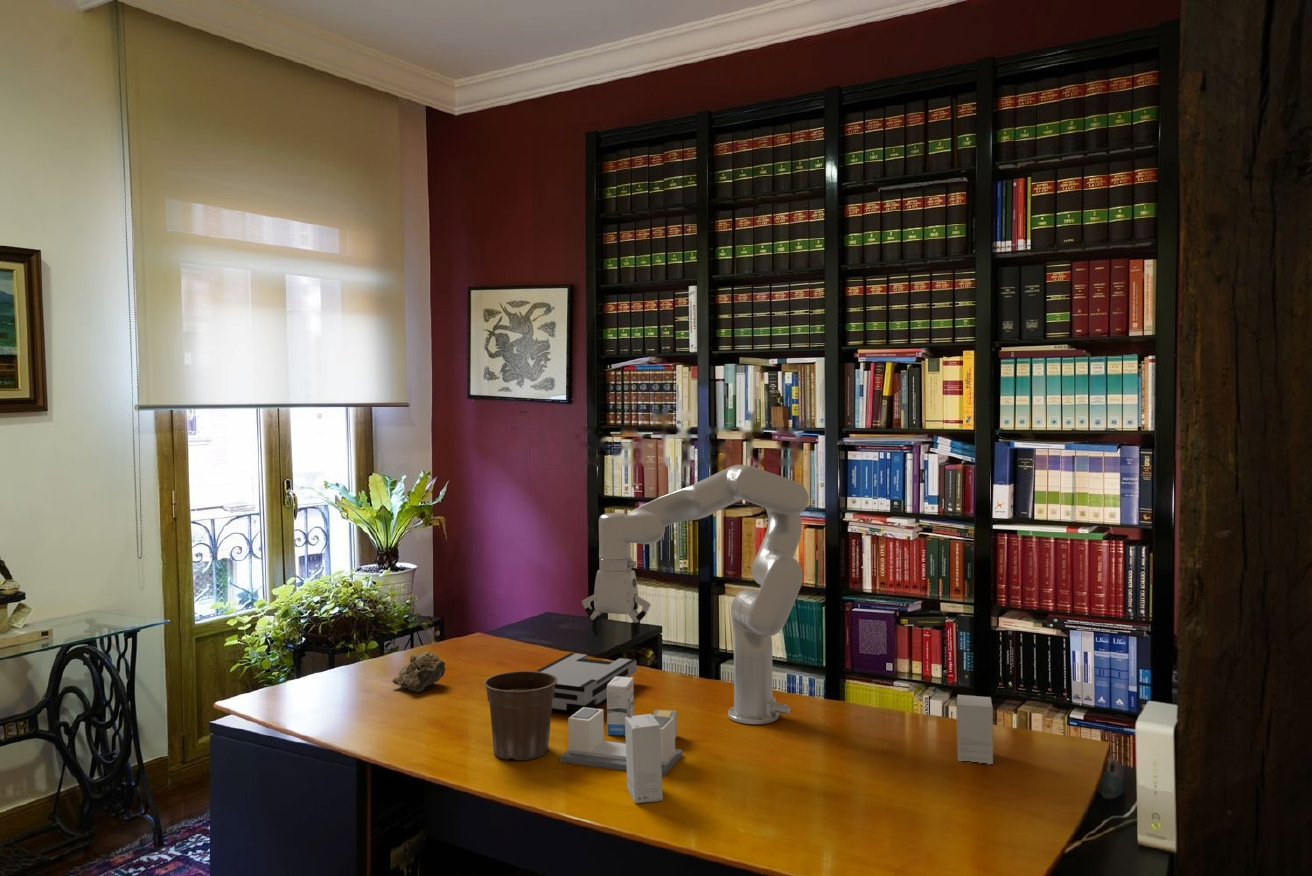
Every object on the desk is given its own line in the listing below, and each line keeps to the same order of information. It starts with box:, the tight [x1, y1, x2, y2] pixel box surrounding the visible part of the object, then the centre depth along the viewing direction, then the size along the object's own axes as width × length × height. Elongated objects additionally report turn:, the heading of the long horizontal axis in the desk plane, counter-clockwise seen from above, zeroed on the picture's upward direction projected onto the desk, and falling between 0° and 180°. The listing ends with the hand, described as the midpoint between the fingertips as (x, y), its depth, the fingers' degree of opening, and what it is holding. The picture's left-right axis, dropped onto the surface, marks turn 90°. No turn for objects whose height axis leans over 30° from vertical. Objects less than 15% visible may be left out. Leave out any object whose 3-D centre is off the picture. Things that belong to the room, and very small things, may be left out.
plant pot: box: [483, 670, 558, 761], centre depth 201 cm, size 16×16×16 cm
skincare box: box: [625, 713, 664, 804], centre depth 177 cm, size 8×6×15 cm
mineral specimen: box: [391, 651, 446, 693], centre depth 250 cm, size 14×13×10 cm
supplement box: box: [956, 694, 994, 765], centre depth 195 cm, size 7×7×13 cm
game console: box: [536, 652, 637, 714], centre depth 241 cm, size 21×32×8 cm, turn 157°
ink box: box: [606, 676, 635, 737], centre depth 214 cm, size 9×5×12 cm, turn 168°
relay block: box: [652, 709, 678, 739], centre depth 208 cm, size 5×6×6 cm
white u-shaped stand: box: [559, 707, 683, 777], centre depth 196 cm, size 24×12×9 cm, turn 71°
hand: (616, 636), depth 213 cm, fingers open, 9 cm apart
